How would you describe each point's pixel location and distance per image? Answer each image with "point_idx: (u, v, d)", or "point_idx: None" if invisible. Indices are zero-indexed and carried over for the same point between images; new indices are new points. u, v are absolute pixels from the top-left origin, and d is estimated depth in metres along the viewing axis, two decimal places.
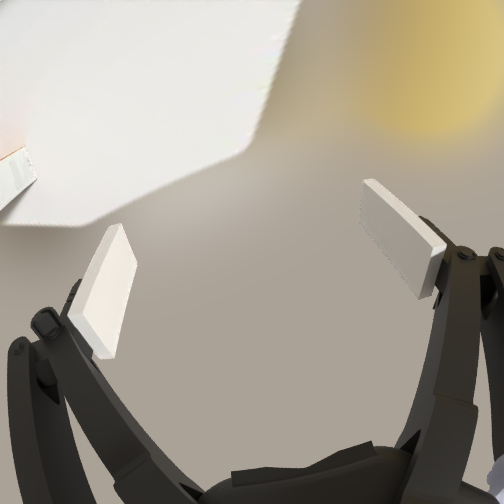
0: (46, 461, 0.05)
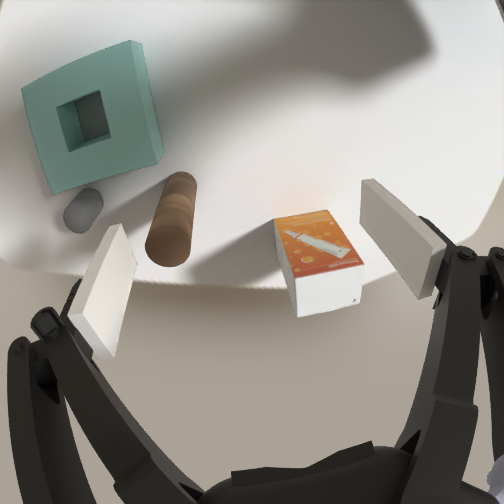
0: (46, 461, 0.05)
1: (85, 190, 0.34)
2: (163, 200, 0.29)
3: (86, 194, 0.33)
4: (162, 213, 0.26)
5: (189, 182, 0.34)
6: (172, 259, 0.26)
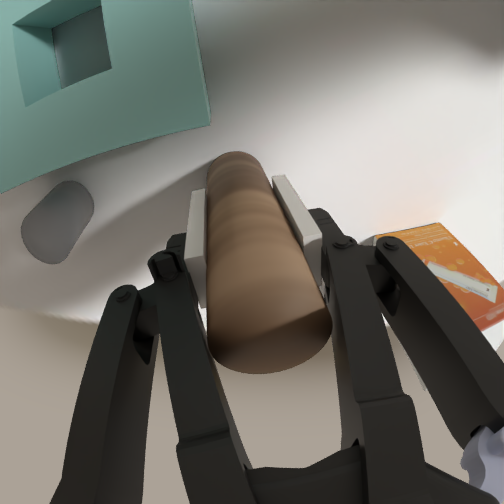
0: (111, 426, 0.06)
1: (62, 184, 0.18)
2: (226, 204, 0.13)
3: (63, 191, 0.17)
4: (243, 240, 0.10)
5: (260, 169, 0.18)
6: (277, 360, 0.10)
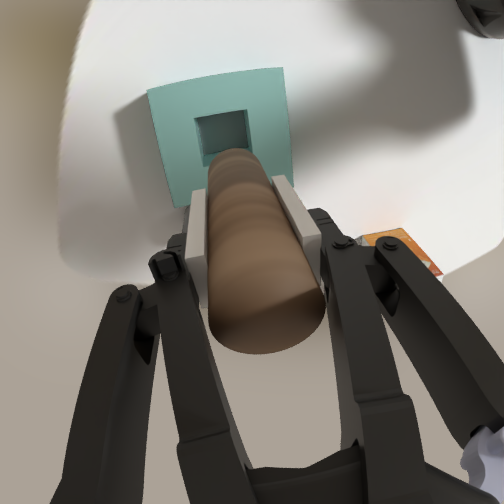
0: (112, 426, 0.06)
1: None
2: (226, 196, 0.14)
3: None
4: (242, 227, 0.11)
5: (258, 164, 0.18)
6: (274, 340, 0.10)
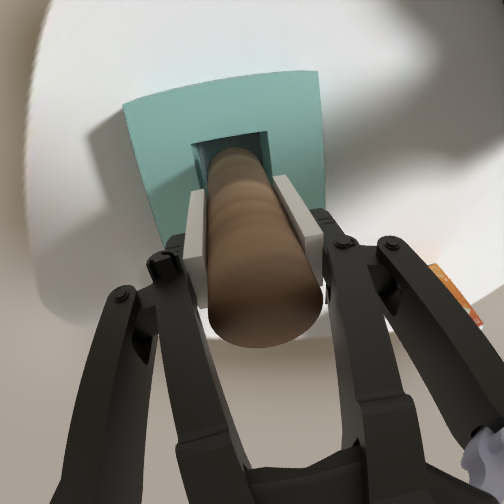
0: (110, 426, 0.06)
1: None
2: (226, 193, 0.14)
3: None
4: (241, 223, 0.11)
5: (258, 163, 0.19)
6: (273, 333, 0.11)
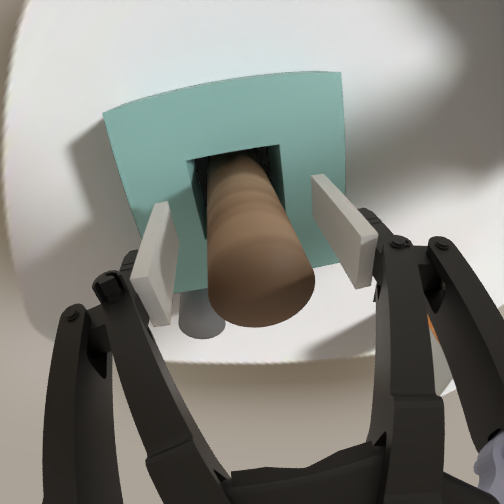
0: (79, 439, 0.06)
1: None
2: (225, 184, 0.15)
3: None
4: (239, 210, 0.12)
5: (255, 158, 0.20)
6: (268, 313, 0.12)
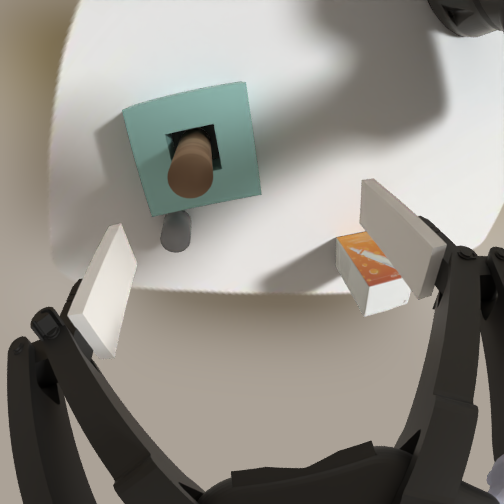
0: (46, 461, 0.05)
1: (176, 211, 0.41)
2: (182, 143, 0.29)
3: (180, 216, 0.40)
4: (184, 149, 0.26)
5: (205, 134, 0.33)
6: (194, 189, 0.25)
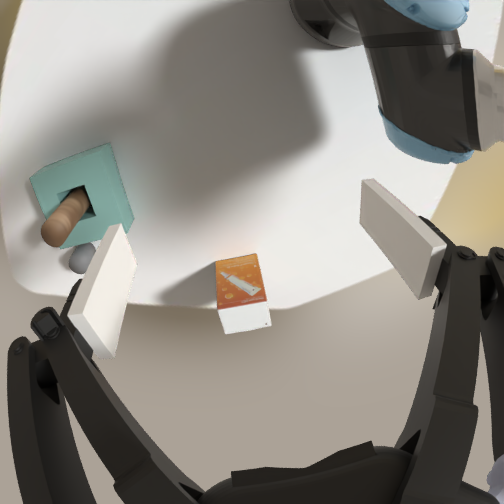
0: (46, 461, 0.05)
1: None
2: (61, 203, 0.36)
3: (83, 246, 0.48)
4: (54, 212, 0.34)
5: None
6: (56, 241, 0.33)
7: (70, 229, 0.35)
